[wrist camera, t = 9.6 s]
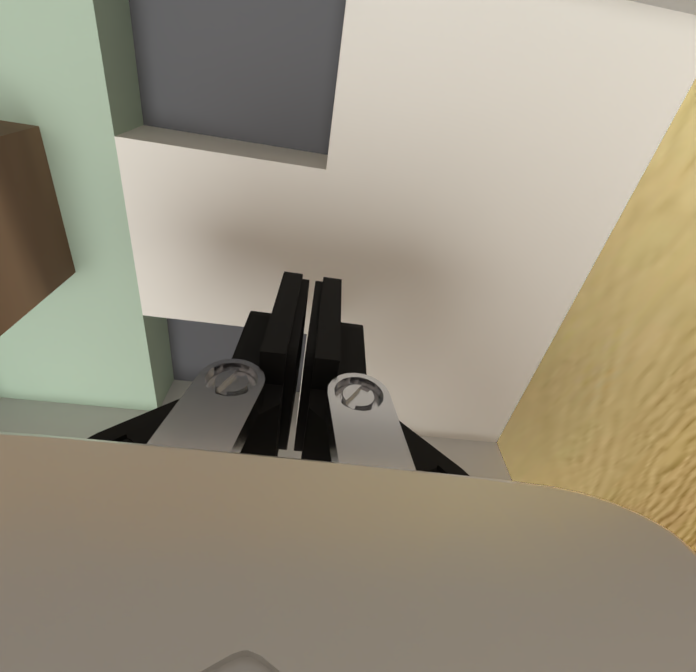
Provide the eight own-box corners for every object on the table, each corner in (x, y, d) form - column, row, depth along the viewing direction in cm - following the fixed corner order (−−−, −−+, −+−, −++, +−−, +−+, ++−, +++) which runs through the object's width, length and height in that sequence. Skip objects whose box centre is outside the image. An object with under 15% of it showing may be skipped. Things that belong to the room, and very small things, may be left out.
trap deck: (681, -17, 12) (898, -59, 7) (475, 418, 22) (510, 513, 17) (-226, -223, 9) (-758, -481, 5) (17, 373, 19) (-80, 470, 15)
